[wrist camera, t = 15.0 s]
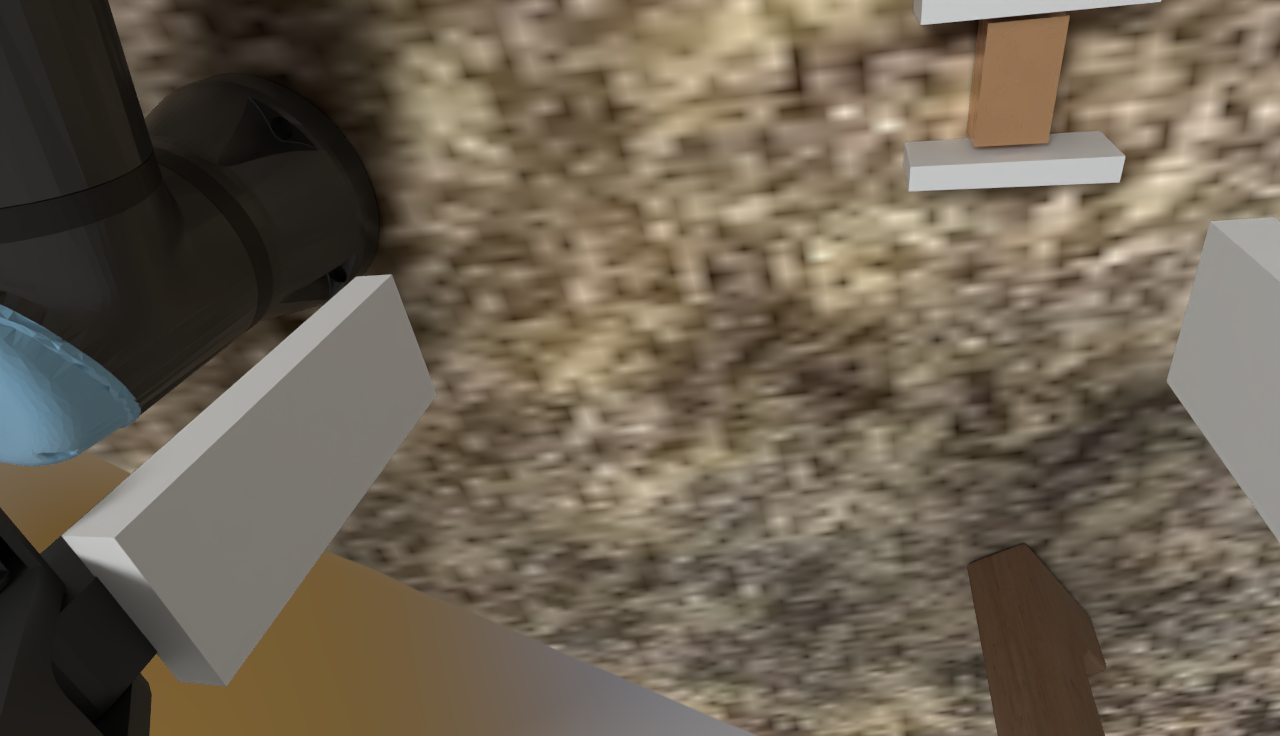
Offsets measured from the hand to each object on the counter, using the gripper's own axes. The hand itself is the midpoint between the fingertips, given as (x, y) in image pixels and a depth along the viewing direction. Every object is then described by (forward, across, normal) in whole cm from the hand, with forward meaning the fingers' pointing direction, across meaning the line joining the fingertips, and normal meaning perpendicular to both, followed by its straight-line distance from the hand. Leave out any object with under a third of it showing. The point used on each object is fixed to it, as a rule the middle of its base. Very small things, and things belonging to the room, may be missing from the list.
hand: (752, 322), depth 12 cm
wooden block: (+29, +15, -39) cm, 51 cm away
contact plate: (+29, +10, -3) cm, 30 cm away
